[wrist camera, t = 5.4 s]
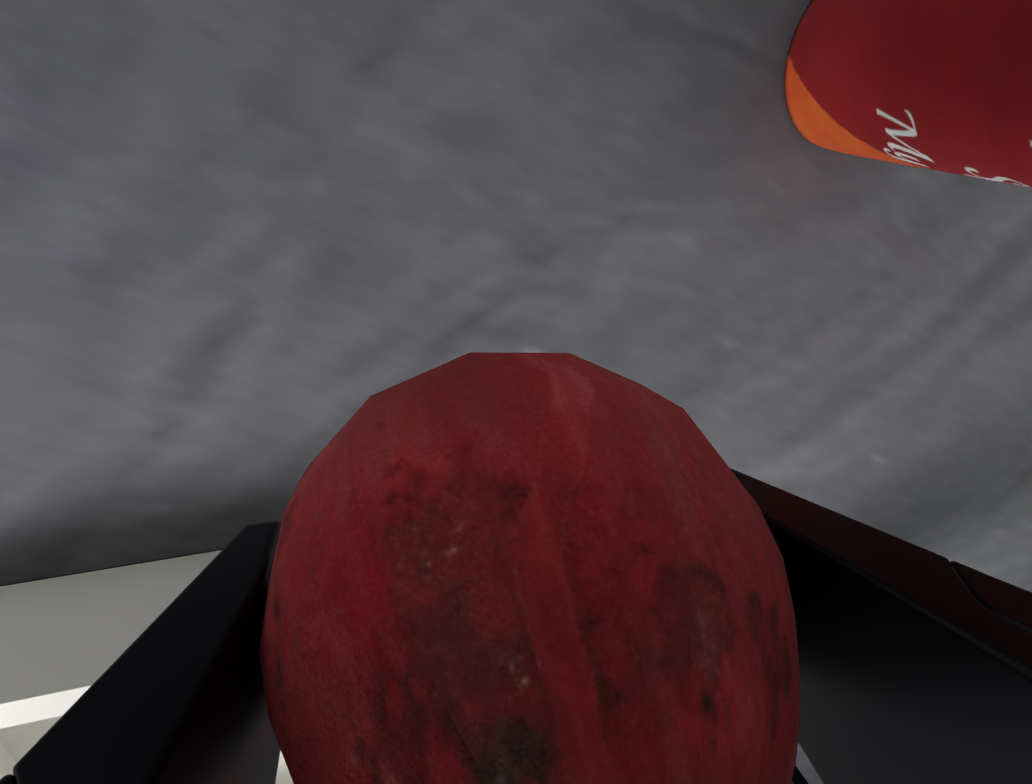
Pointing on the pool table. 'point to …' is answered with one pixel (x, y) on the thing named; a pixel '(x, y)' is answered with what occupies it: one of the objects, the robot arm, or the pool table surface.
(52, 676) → the bin
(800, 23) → the paper cup
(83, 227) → the pool table surface
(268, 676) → the onion
